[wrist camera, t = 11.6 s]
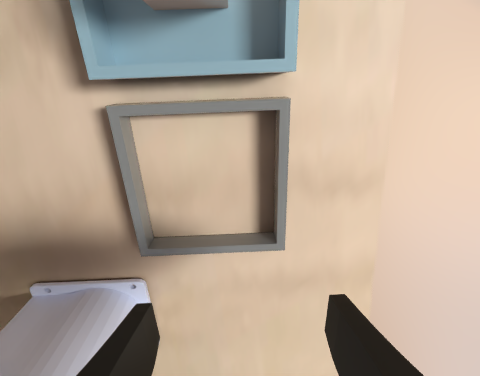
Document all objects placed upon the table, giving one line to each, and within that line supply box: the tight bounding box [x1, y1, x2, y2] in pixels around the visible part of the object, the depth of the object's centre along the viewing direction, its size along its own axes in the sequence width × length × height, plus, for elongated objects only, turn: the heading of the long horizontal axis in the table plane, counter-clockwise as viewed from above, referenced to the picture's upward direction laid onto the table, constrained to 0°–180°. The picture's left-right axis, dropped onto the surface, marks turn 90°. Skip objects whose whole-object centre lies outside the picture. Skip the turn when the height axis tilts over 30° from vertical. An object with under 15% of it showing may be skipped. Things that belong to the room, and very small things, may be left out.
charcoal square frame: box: [106, 97, 291, 256], centre depth 17 cm, size 11×11×2 cm
